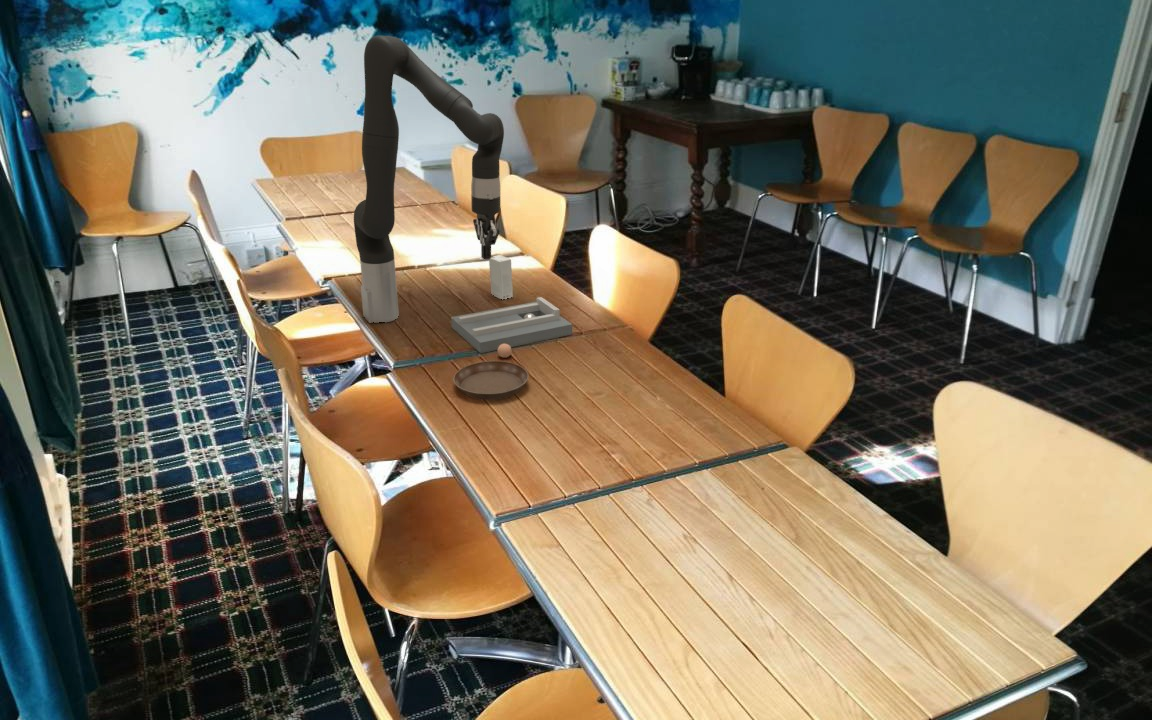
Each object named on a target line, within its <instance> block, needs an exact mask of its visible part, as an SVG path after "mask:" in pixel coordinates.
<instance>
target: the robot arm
mask: <svg viewBox="0 0 1152 720" xmlns="http://www.w3.org/2000/svg"><path fill="white" fill-rule="evenodd" d="M363 69H364V104H363V105H364V108H363V110H364V111H363V123H362V125H363V126H362V134H361V135H362V137H361V155H362V156H361V158H362V163H363V169H364V174H365V175H364V176H365V180H366V181H365V183H366V192H365V199H364V200H361V201H360V202H359V203H358V204H357V205H356V207H355V209H354V211H353V226H354V234H355V241H356V248H357V251H358V254H359V259H360V260H359V263H360V272H361V282H362V284H360V295H361V303H362V304H361V305H362V314H363V315H362V316H363V317H365V318H364V319H365V320H366V321H367V322H368V323H370V324H372V323H373V322H374V323H373V324H375V323H376V324H377V323H378V324H380V323H379V322H385V323H390V322H393V321H396V320H397V319H399V317H398V316H400V315H399V310H400V309H399V300H398V299H399V298H398V288H397V287H398V286H397V275H396V261H395V252H394V246H393V245H392V242H391V239H390V234H391V233H392V231H393V229H394V226H395V223H396V222H395V221H396V220H395V219H396V218H395V217H396V215H395V182H396V181H395V179H396V174H397V173H396V172H397V161H398V160H397V159H398V151H399V138H400V137H399V136H400V127H399V123H398V122H399V121H398V117H397V114H396V111H395V108H394V103H393V81H394V75H395V76H397V77H399V78H401V79H403V80H405V81H407V82H408V83H409V84H411V85H413V86H414V87H415V88H416V89H417V90H418V91H419V92H420V93H421V95H423V97H424V98H425V99H426V100H427V102H428V103H429V104H430V105H431V106H432V107H433V108H434V109H435V110H436V111H438V112H439V113H440V114H442V115H443V116H444V117H446V118H447V119H448V120H450V121H451V122H452V123H454V125H455V126H456V128H457V129H458V130H459V131H460V132H461V134H463V135H464V137H466V139H468V140H469V141H470V142H472V143H474V144H476V145H477V150H476V152H475V153H474V154H473V155H472V158H471V185H470V186H471V187H470V188H471V190H470V191H471V194H470V196H471V197H470V198H471V200H470V201H471V204H470V205H471V207H470V208H471V212H472V213H473V214H475V215H476V218H473V220H472V222H473V226H474V230H475V234H476V238H477V240H478V241H479V244H480V245H481V247H480V248H481V250H480V251H481V252H480V255H481V256H480V257H481V258H482V259H483V260H489V259H490V258H491V257H492V246H493V245H494V246H495V245H496V242H497V239H498V237H499V234H500V229H499V228H496V225H497V223H496V217H495V215H497V214H499V213H500V212H501V181H500V180H501V179H500V178H501V177H500V176H501V175H500V159H501V153H502V150H503V148H502V147H503V143H504V136H505V134H504V133H505V128H504V123H503V121H502V119H501V117H500V116H499V115H497V114H495V113H492V112H490V113H484V114H480V113H478V112H477V111H476V110H475V108H473V107H474V105H473V102H472V101H471V100H470V99H469V98H468V97H467V96H466V95H465V94H464V93H462V92H460V91H459V90H458V89H457V88H455V87H454V86H453V85H451V84H450V83H449V82H447V81H446V80H444V79H443V78H442V77H441V76H440V75H438V74H437V73H436V72H435V71H433V70H432V69H431V68H430V66H428V65H427V64H426V63H425V62H424V61H423V60H422V59H421V58H420V57H419V56H418V55H417V54H416V53H415V52H414V50H412V49H411V48H410V47H409V46H408V45H407V43H405V42H404V41H403V40H402V39H400V38H398V37H396V36H391V35H374V36H373V37H371V38H370V39H368V41H367V43H366V45H365V49H364V54H363ZM395 319H396V320H395Z"/></svg>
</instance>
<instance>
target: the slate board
mask: <svg viewBox="0 0 1152 720" xmlns="http://www.w3.org/2000/svg"><path fill="white" fill-rule="evenodd" d="M535 300H536V301H533V302H527V303H522V304H517V305H511V306H510V305H509V306H505V307H499V308H494V309H488V310H483V311H478V312H473V313H467V314H461V315H456V316H452V317H450V323H451V329H453V330H454V331H455V332H456V333H457V334H458V335H460V336H461V337H462V339H464V340H465V341H466V342H467V343H468V344H469V345H471V347H473V348H474V349H475V350H476V351H477V352H478V353H479V354H484V353H488V352H489V353H490V352H494V351H497V350H498V347H499V346H500V345H501V344H508V345H509V346H510V347H511V348H513V347H518V346H523V345H527V344H528V345H529V344H532V343H537V342H543V341H547V340H553V339H557V338H562V337H566V336H571V335H573V323H571V322H570V321H568V320H567V319H565V318H564V317H562V316H561V315H560V314H561V313H560V312H561V310H560V309H559V308H558V307H557V306H555V305H554V304H552V303H551V302H549V301H548V300H546V299H545V298H543V297H542V296H540V297H536V299H535ZM528 313H532V314H534V315H535V316H536V317H533V318H527V319H523V317H524V316H525V315H526V314H528Z"/></svg>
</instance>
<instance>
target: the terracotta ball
mask: <svg viewBox="0 0 1152 720" xmlns="http://www.w3.org/2000/svg"><path fill="white" fill-rule="evenodd" d="M496 351H497V354H498V355H499V357H501V358H502V359H503V358H509V356H511V354H512V352H513V351H512V347H510V346H509V345H508V344H501V345H500V346H499V347H498V350H496Z"/></svg>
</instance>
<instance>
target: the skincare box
mask: <svg viewBox="0 0 1152 720" xmlns="http://www.w3.org/2000/svg"><path fill="white" fill-rule="evenodd" d="M488 263H489V279H490V293H491V294H492V295H491V296H493V295H494V296H493V297H496V298H497V299H499V300H501V299H502V301H504V300H503V299H505V300H508V299H507V298H509V299H512V298H514V290H513V276H512V275H513V273H512V271H513V270H512V259H511V258H508V257H507V256H503V255H500V254H497V255H493V256H491V258H490V259H488ZM511 297H512V298H511Z"/></svg>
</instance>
